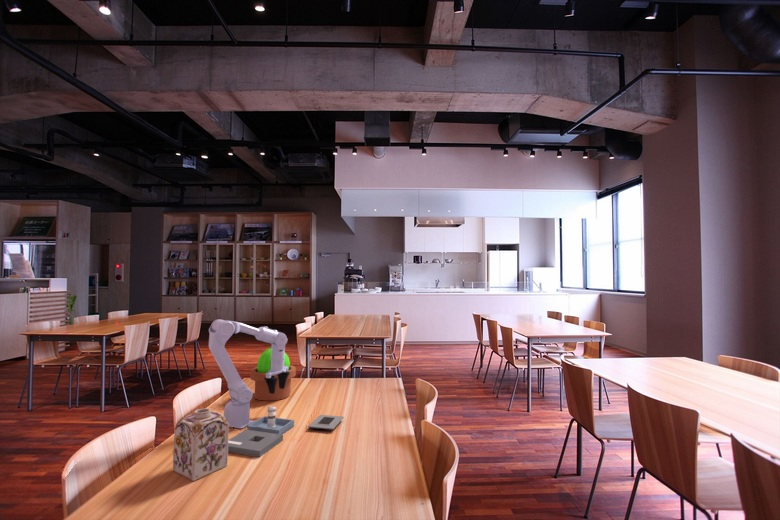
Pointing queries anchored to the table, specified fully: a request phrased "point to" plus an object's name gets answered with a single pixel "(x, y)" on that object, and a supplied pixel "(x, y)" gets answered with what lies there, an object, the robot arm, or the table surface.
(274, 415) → the white light bulb
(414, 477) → the table surface
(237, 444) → the light bulb socket board
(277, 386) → the potted cactus
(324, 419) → the electrical outlet
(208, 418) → the decorative jar
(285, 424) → the tray
